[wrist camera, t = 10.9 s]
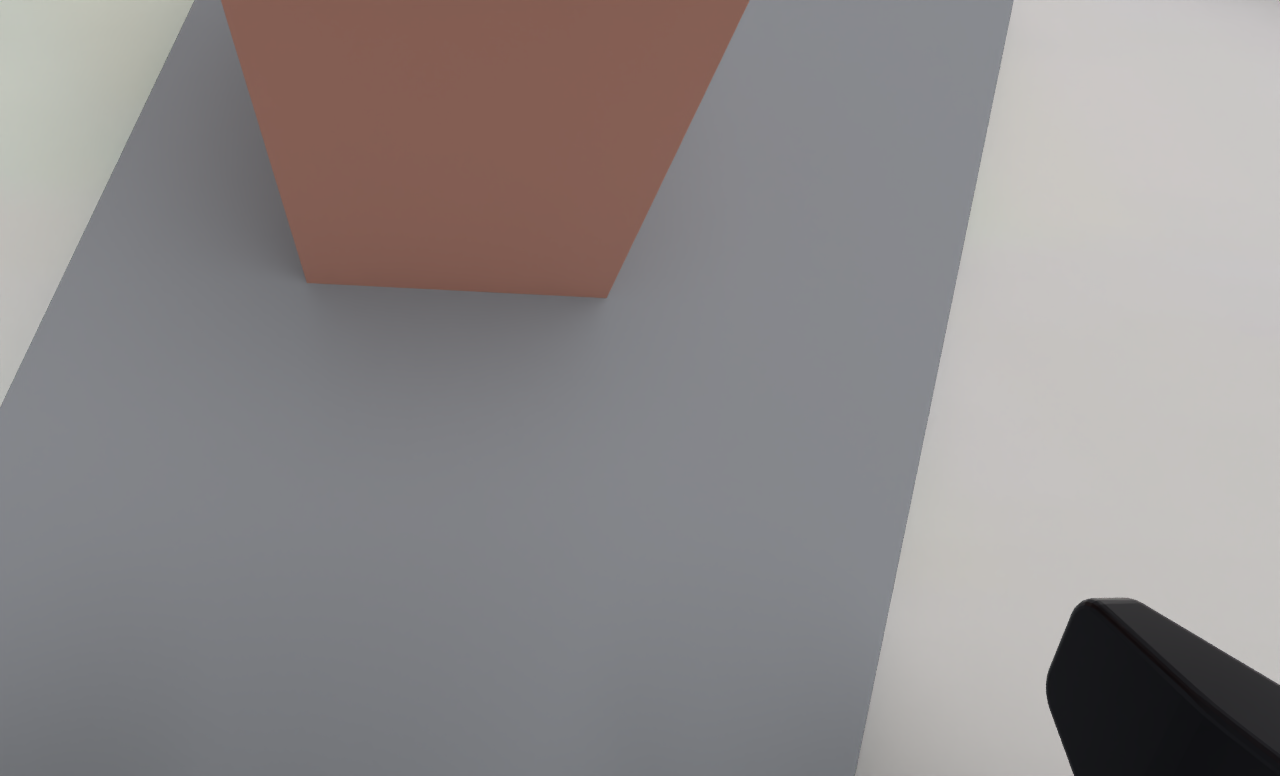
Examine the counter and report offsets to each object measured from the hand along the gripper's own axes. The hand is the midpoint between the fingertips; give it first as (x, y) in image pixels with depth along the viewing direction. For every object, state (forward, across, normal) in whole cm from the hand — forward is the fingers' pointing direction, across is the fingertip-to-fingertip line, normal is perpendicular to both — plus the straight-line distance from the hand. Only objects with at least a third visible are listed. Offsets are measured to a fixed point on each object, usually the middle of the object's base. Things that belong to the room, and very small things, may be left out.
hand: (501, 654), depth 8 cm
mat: (+9, -1, +3) cm, 9 cm away
